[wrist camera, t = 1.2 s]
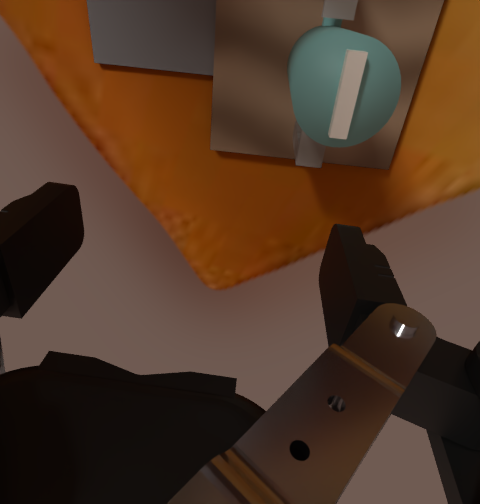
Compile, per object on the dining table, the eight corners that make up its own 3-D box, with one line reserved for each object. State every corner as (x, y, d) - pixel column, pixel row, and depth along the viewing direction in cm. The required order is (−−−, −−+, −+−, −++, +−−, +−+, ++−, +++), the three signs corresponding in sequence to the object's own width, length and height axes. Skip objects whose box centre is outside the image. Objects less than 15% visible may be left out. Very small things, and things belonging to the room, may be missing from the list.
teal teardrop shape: (298, -15, 23) (312, -31, 14) (376, -8, 22) (440, -18, 14) (278, 126, 27) (279, 182, 19) (342, 133, 27) (373, 193, 18)
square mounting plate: (222, -86, 25) (202, -121, 18) (458, -63, 25) (525, -90, 18) (212, 145, 34) (196, 178, 27) (385, 164, 34) (411, 203, 27)
